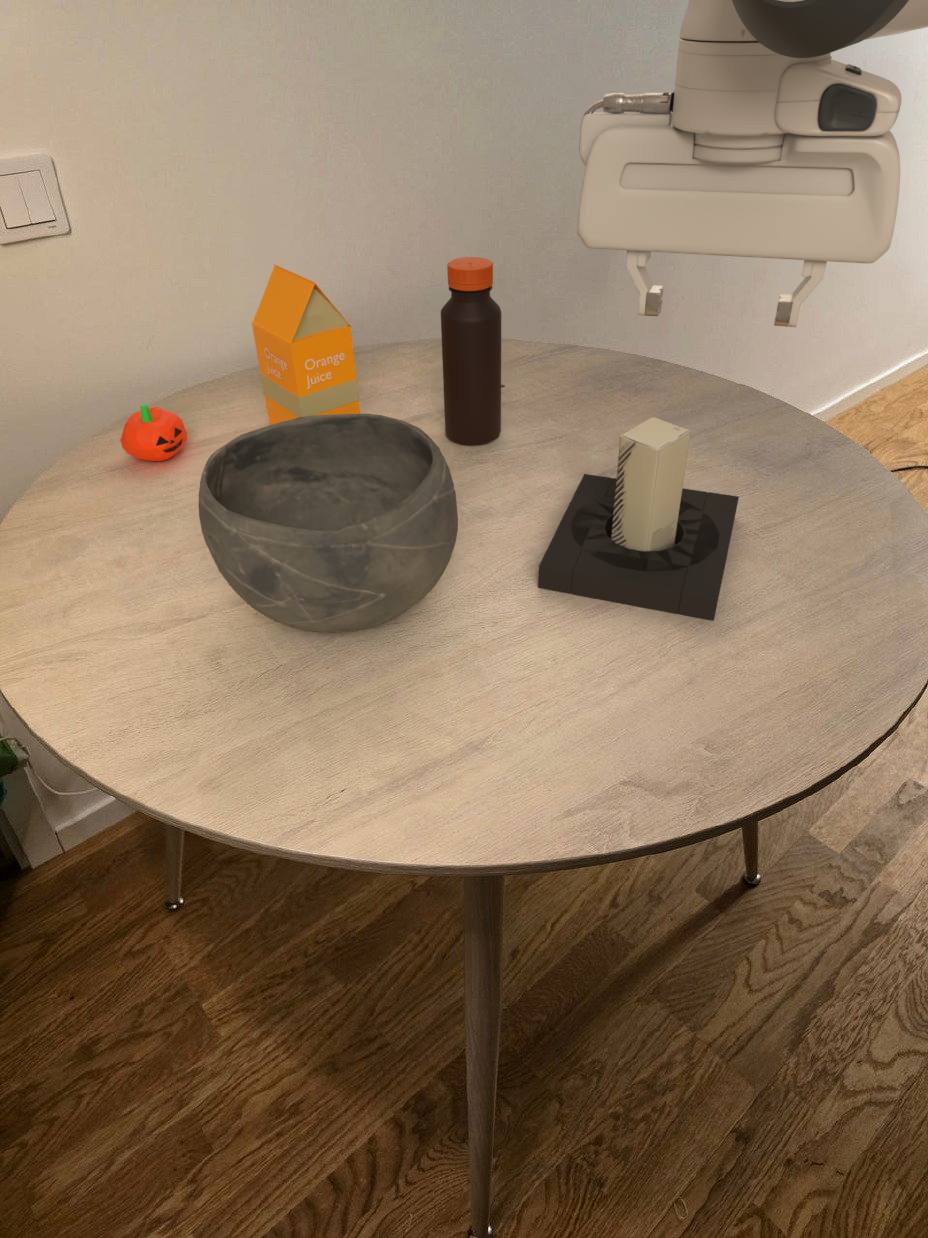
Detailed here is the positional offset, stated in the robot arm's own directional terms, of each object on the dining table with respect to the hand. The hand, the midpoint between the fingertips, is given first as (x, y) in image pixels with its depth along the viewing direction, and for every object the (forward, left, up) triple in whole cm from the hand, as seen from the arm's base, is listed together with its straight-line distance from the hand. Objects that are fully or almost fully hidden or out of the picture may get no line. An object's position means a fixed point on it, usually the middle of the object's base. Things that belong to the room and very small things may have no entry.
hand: (715, 318), depth 61 cm
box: (+4, -8, -26) cm, 28 cm away
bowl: (+28, +9, -26) cm, 39 cm away
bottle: (+28, -27, -26) cm, 47 cm away
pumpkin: (+62, -11, -26) cm, 68 cm away
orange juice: (+45, -19, -26) cm, 55 cm away
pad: (+4, -8, -26) cm, 27 cm away
